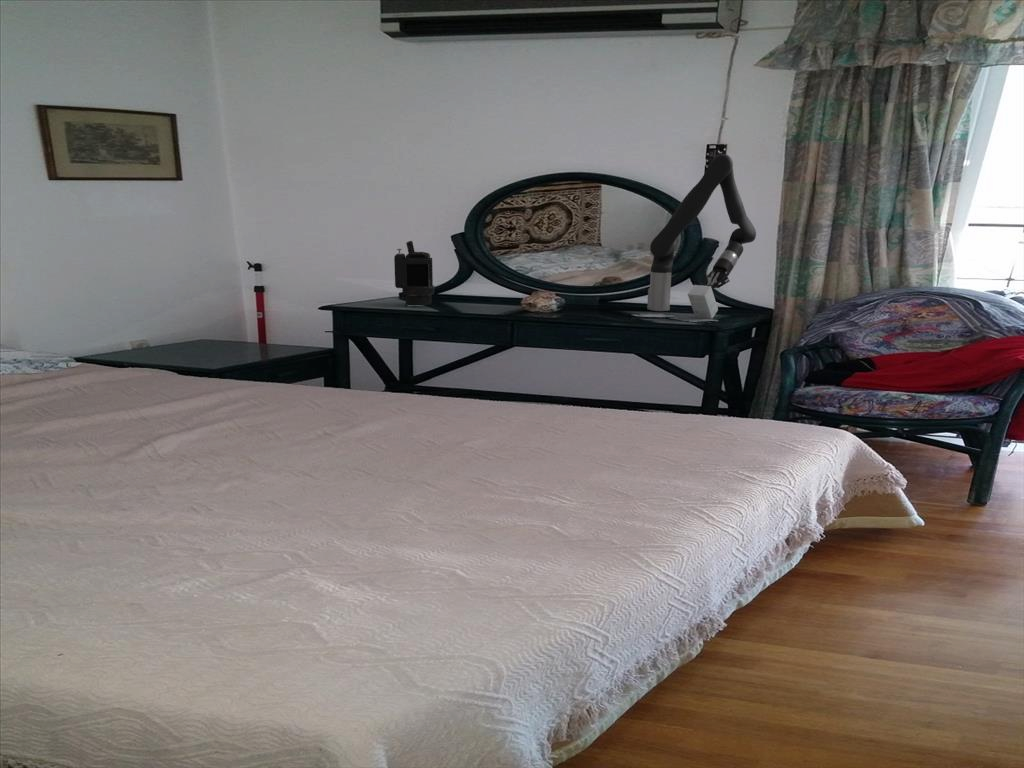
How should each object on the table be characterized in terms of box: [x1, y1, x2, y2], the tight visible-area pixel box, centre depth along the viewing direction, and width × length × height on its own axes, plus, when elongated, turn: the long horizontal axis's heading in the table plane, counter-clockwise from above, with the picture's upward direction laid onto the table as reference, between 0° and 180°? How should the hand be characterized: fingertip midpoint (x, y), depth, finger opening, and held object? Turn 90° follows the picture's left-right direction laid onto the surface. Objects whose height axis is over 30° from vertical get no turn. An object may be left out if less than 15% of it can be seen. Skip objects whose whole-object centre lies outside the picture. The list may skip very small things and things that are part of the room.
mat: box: [675, 315, 719, 323], centre depth 311 cm, size 18×12×1 cm
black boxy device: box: [393, 240, 435, 305], centre depth 349 cm, size 15×18×30 cm
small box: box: [687, 284, 719, 319], centre depth 312 cm, size 8×6×13 cm
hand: (706, 293), depth 314 cm, fingers closed
